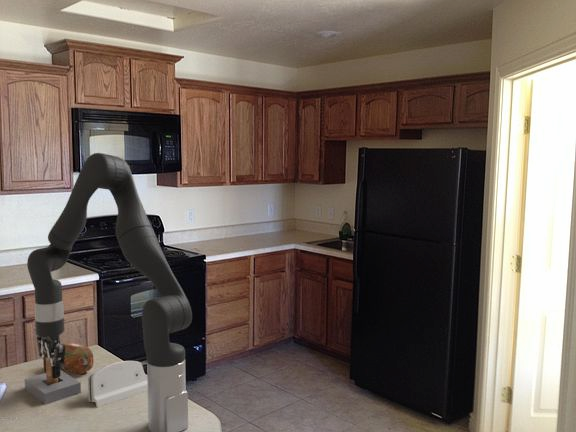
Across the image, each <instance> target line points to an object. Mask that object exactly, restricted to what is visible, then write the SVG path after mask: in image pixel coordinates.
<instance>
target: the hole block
mask: <svg viewBox="0 0 576 432" xmlns="http://www.w3.org/2000/svg"><path fill="white" fill-rule="evenodd" d="M81 384H82V383H81V382H80V381H78V380H77V379H75V378H74V377H72V376H71V375H69V374H68V373H66V372H64V370H62V369H60V377H58V383H54V384H51V385H47V378H46V373H44V372H43V373H41V374H37V375H34V376H31V377H30V376H29V377H26V378H24V390H25V391H27V392H28V393H29V394H31V395H32V396H34V397H35V398H36V399H38V400H39V401H40V402H41V403H43V404H44V405H48V404H51V403H53V402H56V401H60V400H63V399H65V398H69V397H72V396H75V395H78V394H81V393H82V387H81V386H82V385H81Z"/></svg>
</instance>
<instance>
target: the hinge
mask: <svg viewBox="0 0 576 432" xmlns="http://www.w3.org/2000/svg"><path fill="white" fill-rule="evenodd" d="M87 385H88V386H87V387H88V389H87V390H88V402H89V403H95V407H96V408H100V407H103V406H107V405H108V404H112V403H115V402H118V401H120V400H123V399H124V400H125V399H126V398H130V397H133V396H136V395H138V394H142V393H145V392H148V384H147V375H146V373H145V371H144V367H143V364H142V363H141V361H136V360H124V361H117V362H112V363H109V364H107V365H104V366H102V367H100V368H99V369H96V370H95V371H93V373H91V374H90V375H89V376H88V378H87Z"/></svg>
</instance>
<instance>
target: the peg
mask: <svg viewBox="0 0 576 432" xmlns="http://www.w3.org/2000/svg"><path fill="white" fill-rule="evenodd" d="M45 359H46V378H47V385H51V384H54V383H58V378H55V379H54V378H52V372H51V366H52V365H51V361H50V358H48V356H47V357H46V358H45Z"/></svg>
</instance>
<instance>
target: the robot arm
mask: <svg viewBox="0 0 576 432" xmlns="http://www.w3.org/2000/svg"><path fill="white" fill-rule="evenodd" d="M98 189H101V190H102V189H103V190H108V191H109V192H110V194H111V195H112V197H113V200H114V202H115V205H116V208H117V217H116V223H115V237H116V239H117V242H118V244H119V247H120V250H121V252H122V255H123V257H124V258H125V259H126V261H127V262H128V263H129V264H130V265H131V266H132V267H133V268H135V270H137V271H138V272H139V273H140V274H142V275H143V276H144V277H146V278H147V279H148V280H149V281H150V282H151V284H153V286H154V287H155V289H156V291H157V293H158V295H159V296H158V297H154V298H151V299H148V300H147V301H146V302H145V303H144V305H143V306H142V312H141V321H142V322H141V323H142V336H143V347H144V352H145V354H146V365H147V366H146V368H147V369H146V370H147V371H146V372H147V373H146V379H147V384H148V391H147V417H148V418H147V419H148V422H147V424H148V425H147V426H148V430H149V432H182V431H184V430H186V429H188V428H189V400H188V399H189V398H188V397H189V394H188V391H187V390H186V389H187V388H186V385H187V382H186V349H185V347H184V346H183V345H181V344H179V343H175V342H170V335H169V334H173V333H175V332H179V331H181V330H185V329H187V328H188V327H190V325H191V324H192V320H193V312H192V306H191V305H190V304H191V303H190V301H189V299H188V298H187V296H186V294H185V292H184V290H183V288H182V287H181V285H180V283H179V282H178V279H177V278H176V276H175V274H174V273H173V271H172V269H171V267H170V265H169V263H168V261H167V259H166V256H165V254H164V252H163V250H162V248H161V245H160V242H159V240H158V237H157V235H156V233H155V231H154V228H153V226H152V224H151V222H150V220H149V218H148V215H147V213H146V210H145V209H144V206H143V204H142V201H141V199H140V196H139V193H138V190H137V189H138V188H137V187H136V183H135V180H134V176H133V174H132V170H131V168H130V166H129V164H128V163H127V161H126V160H124V159H123V158H122V157H120V156H116V155H112V154H111V155H110V154H107V153H106V154H105V153H101V152H95V153H92V154H90V155H89V156H88V157H87V158H86V160H85V161H84V163H83V164H82V166H81V169H80V171H79V174H78V175H77V178H76V181H75V183H74V185H73V187H72V190H71V193H70V195H69V197H68V200H67V202H66V204H65V207H64V208H63V210H62V212H61V213H60V215H59V217H58V218H57V219H56V221H55V223H54V224H53V226H52V228H51V229H50V231H49V233H48V235H47V240H48V242H49V245H48V246H47V247H42V248H37V249H34V250H32V251H31V252H30V254H28V257H27V262H26V265H27V270H28V274H29V276H30V279H31V283H32V285H33V288H34V305H35V306H34V324H35V325H34V326H35V335H36V343H37V348H38V356H39V357H40V358H41V360H42V363H43V374H44V373H46V359H45V358H46V357H47V356H48V358H50V361H51V365H52V366H51V372H52V378H54V379H55V378H58V377H60V370H61V369H60V364H63V363H64V358H65V344H64V345H61V344H62V342H61V339H60V335H62V334H63V333H64V332H65V311H64V310H65V308H64V303H63V285H62V283H61V281H60V280H59V279H53V276H52V272H55V271H58V270H60V269H61V268H63V267H64V266H65V265H66V263H67V262H68V260H69V257H70V255H71V252H72V250H73V245H74V244H75V242H76V241H78V240H77V239H78V238H79V237H80V235H81V234H82V232H83V230H84V229H85V226H86V225H87V224H86V223H87V217H88V204H89V202H90V199H91V198H92V196H93V195H94V194H95V193H96V191H97V190H98Z"/></svg>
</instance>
